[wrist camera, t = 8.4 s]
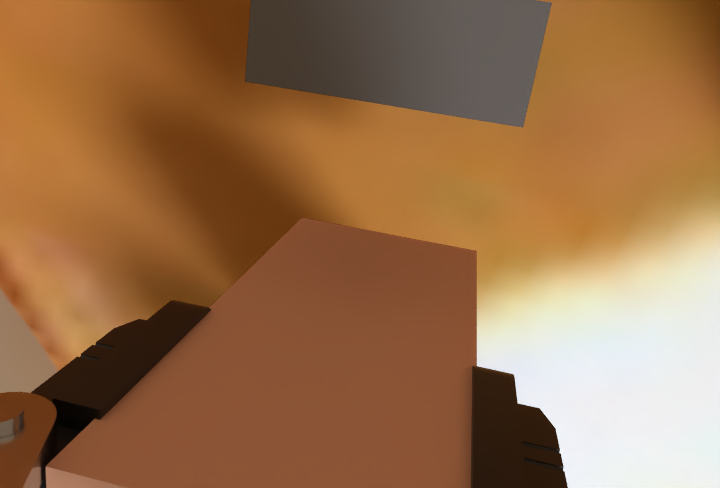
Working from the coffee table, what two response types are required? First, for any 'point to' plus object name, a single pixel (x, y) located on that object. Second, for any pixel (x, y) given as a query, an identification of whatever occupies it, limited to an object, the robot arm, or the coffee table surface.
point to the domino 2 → (306, 377)
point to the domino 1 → (403, 52)
